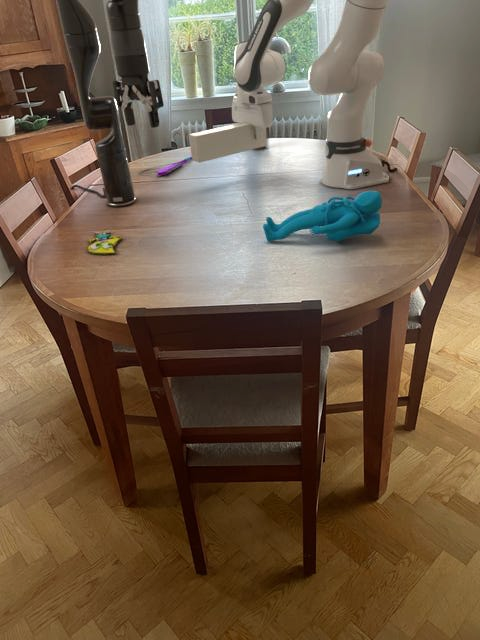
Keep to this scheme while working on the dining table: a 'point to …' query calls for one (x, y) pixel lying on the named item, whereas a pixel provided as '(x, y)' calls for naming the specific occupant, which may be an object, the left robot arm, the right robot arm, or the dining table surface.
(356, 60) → the right robot arm
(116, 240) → the toy
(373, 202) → the toy
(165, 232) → the dining table surface
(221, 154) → the bar
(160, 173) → the musical instrument
